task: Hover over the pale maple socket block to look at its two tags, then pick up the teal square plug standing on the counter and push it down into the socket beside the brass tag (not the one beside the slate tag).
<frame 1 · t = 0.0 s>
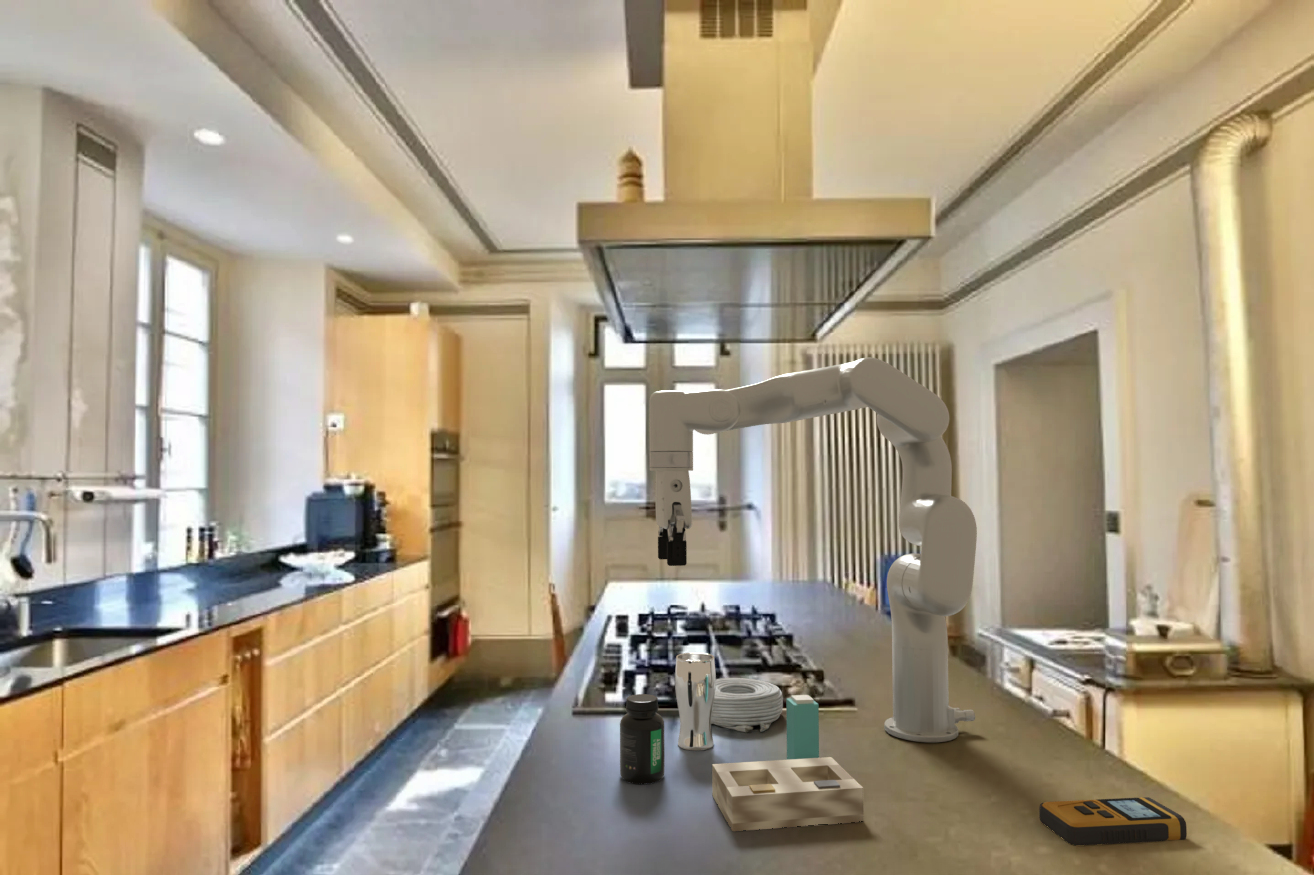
hand: (671, 562, 143), 31 cm above the countertop, tool pointing down, fingers open, 9 cm apart
socket block: (785, 808, 116), on the countertop
beer glass: (695, 746, 143), on the countertop
plug: (802, 764, 133), on the countertop
supplement bottle: (642, 778, 128), on the countertop
electronic device: (1110, 834, 109), on the countertop
cable: (736, 718, 159), on the countertop
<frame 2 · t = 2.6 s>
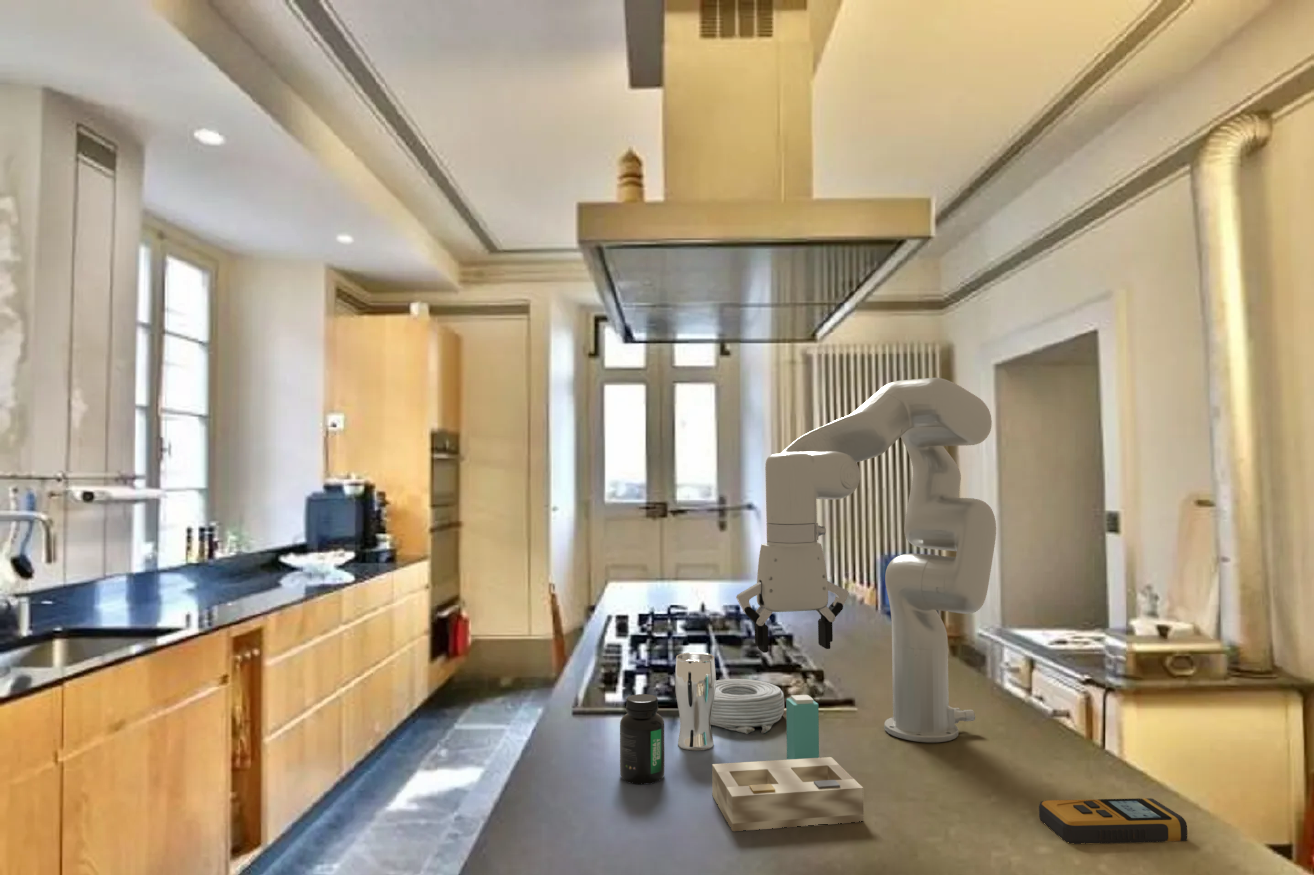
hand: (793, 648, 125), 20 cm above the countertop, tool pointing down, fingers open, 9 cm apart
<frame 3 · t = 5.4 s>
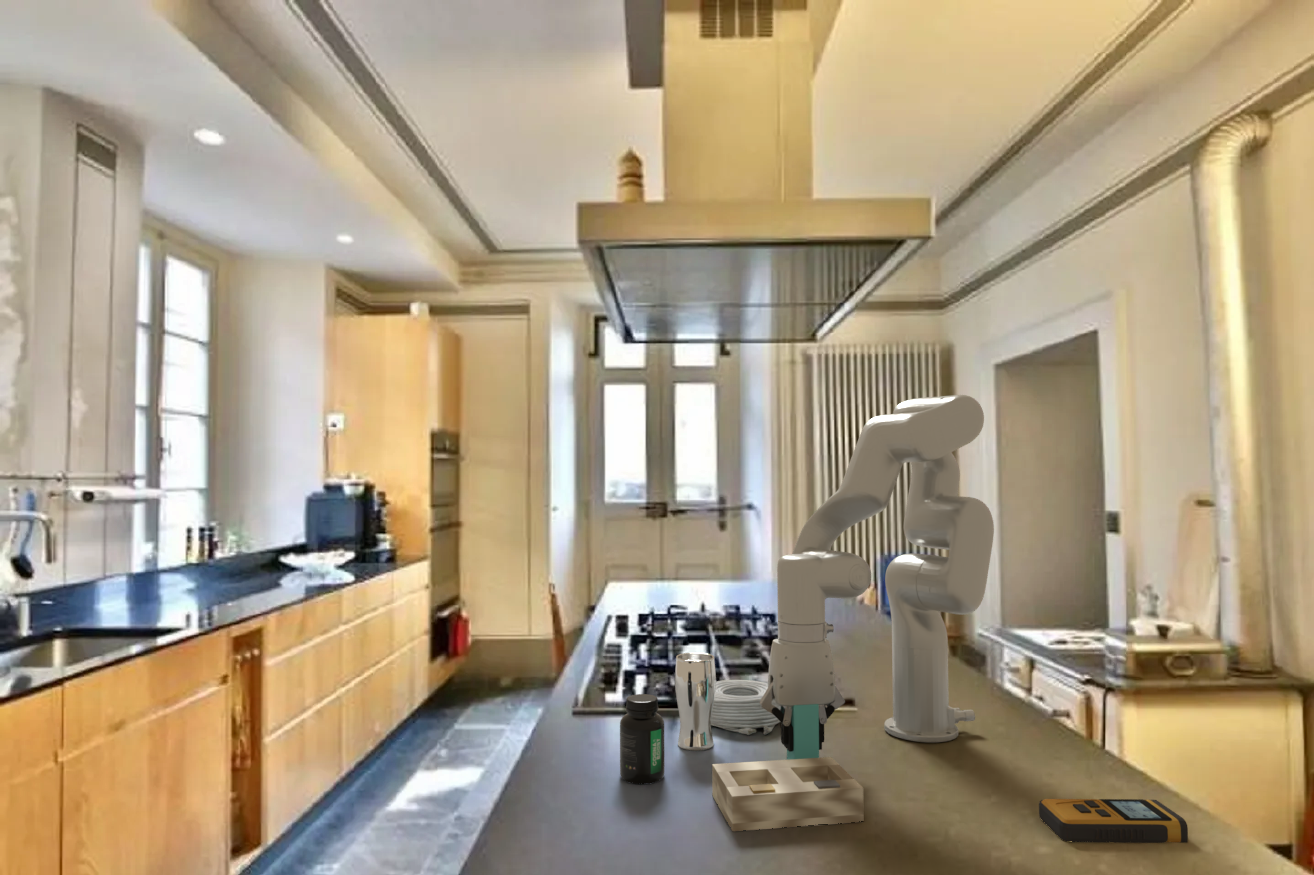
hand: (802, 746, 133), 3 cm above the countertop, tool pointing down, fingers closed on plug, 4 cm apart
plug: (802, 764, 133), on the countertop, touching gripper
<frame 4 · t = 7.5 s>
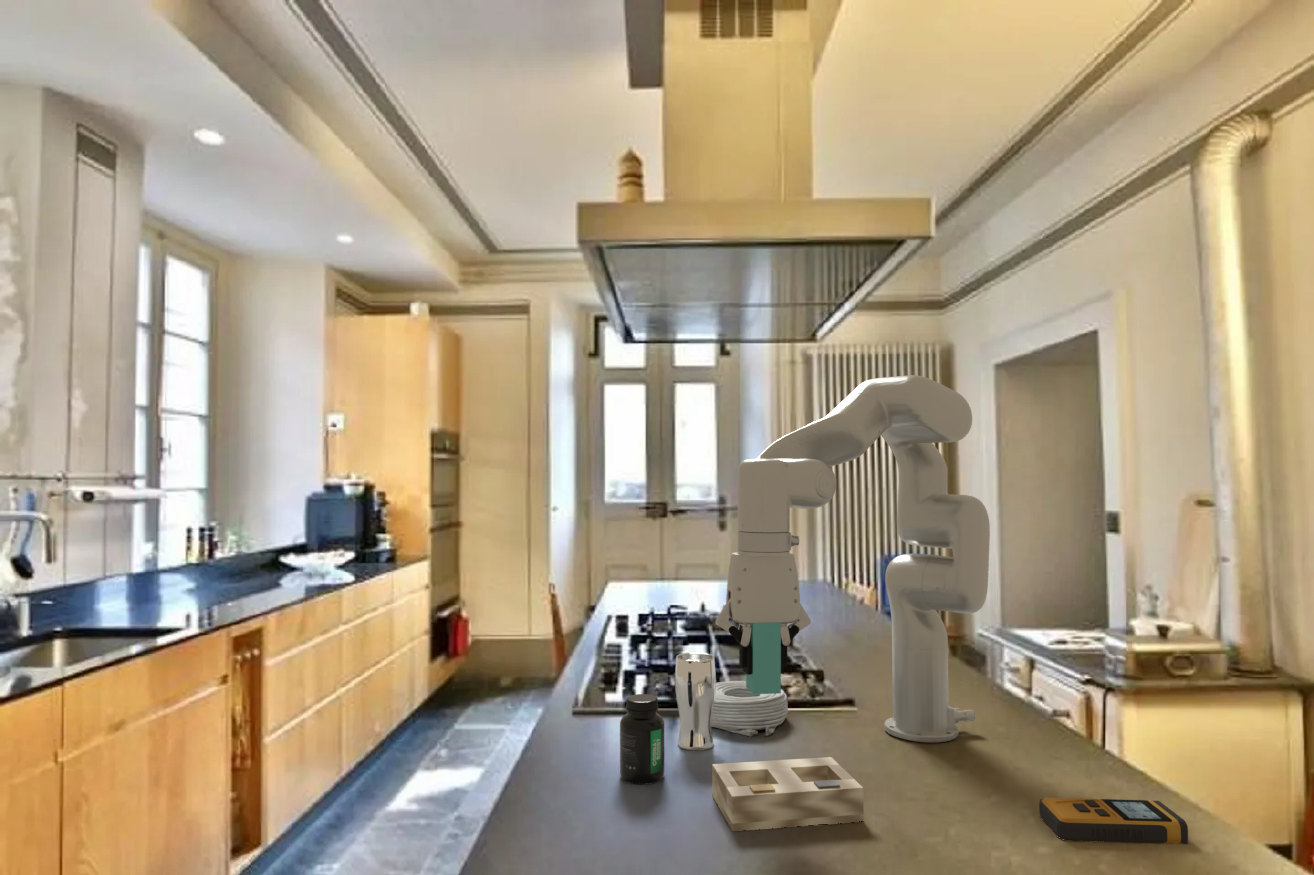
hand: (763, 670, 120), 18 cm above the countertop, tool pointing down, fingers closed on plug, 4 cm apart
plug: (763, 690, 120), point 15 cm above the countertop, touching gripper
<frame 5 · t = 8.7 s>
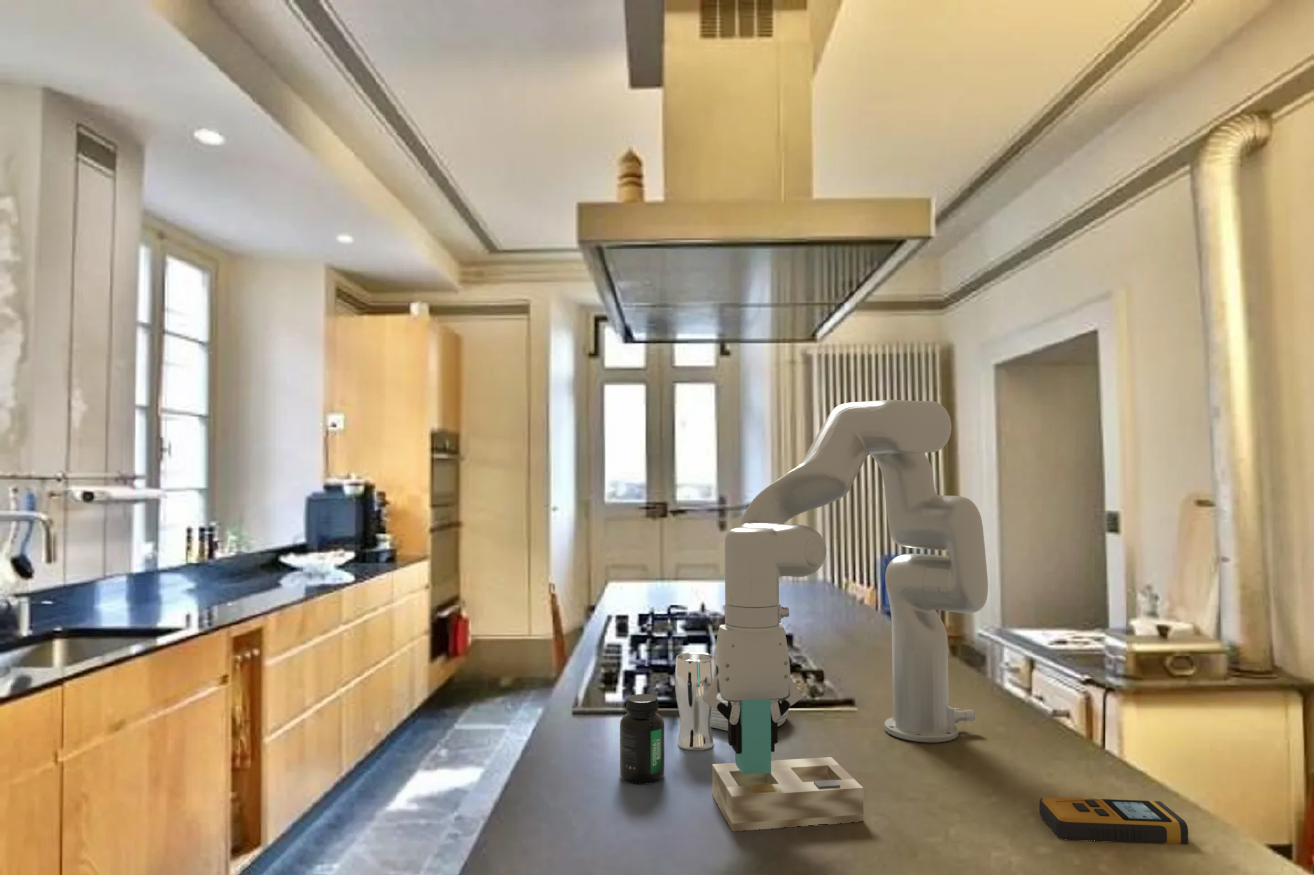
hand: (752, 748, 116), 9 cm above the countertop, tool pointing down, fingers closed on plug, 4 cm apart
plug: (753, 768, 115), point 6 cm above the countertop, touching gripper
when the fingers open (5 cm above the countertop, at t = 9.7 s): plug drops 1 cm, resting on socket block.
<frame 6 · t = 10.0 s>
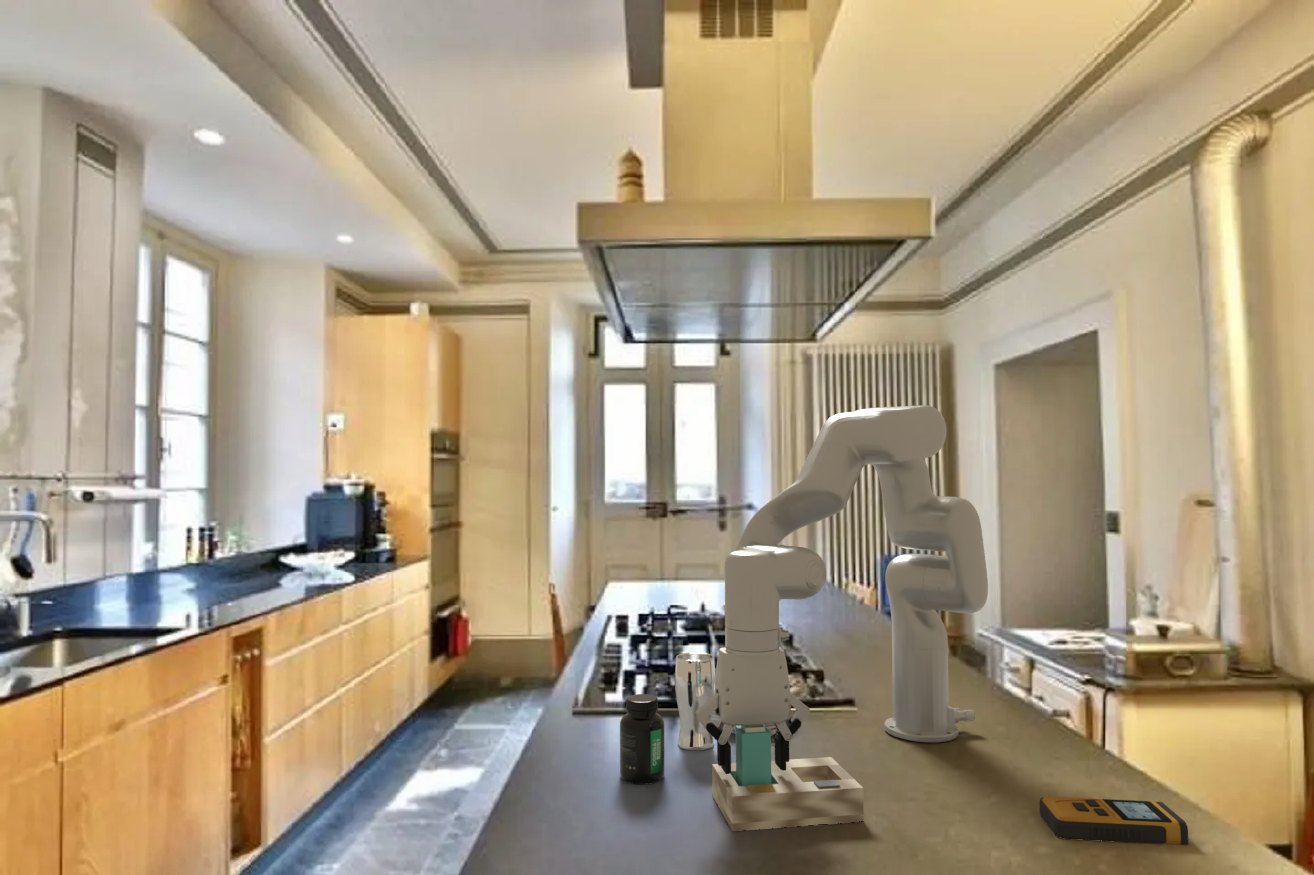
hand: (753, 767, 115), 6 cm above the countertop, tool pointing down, fingers open, 7 cm apart
plug: (753, 802, 115), point 1 cm above the countertop, touching socket block
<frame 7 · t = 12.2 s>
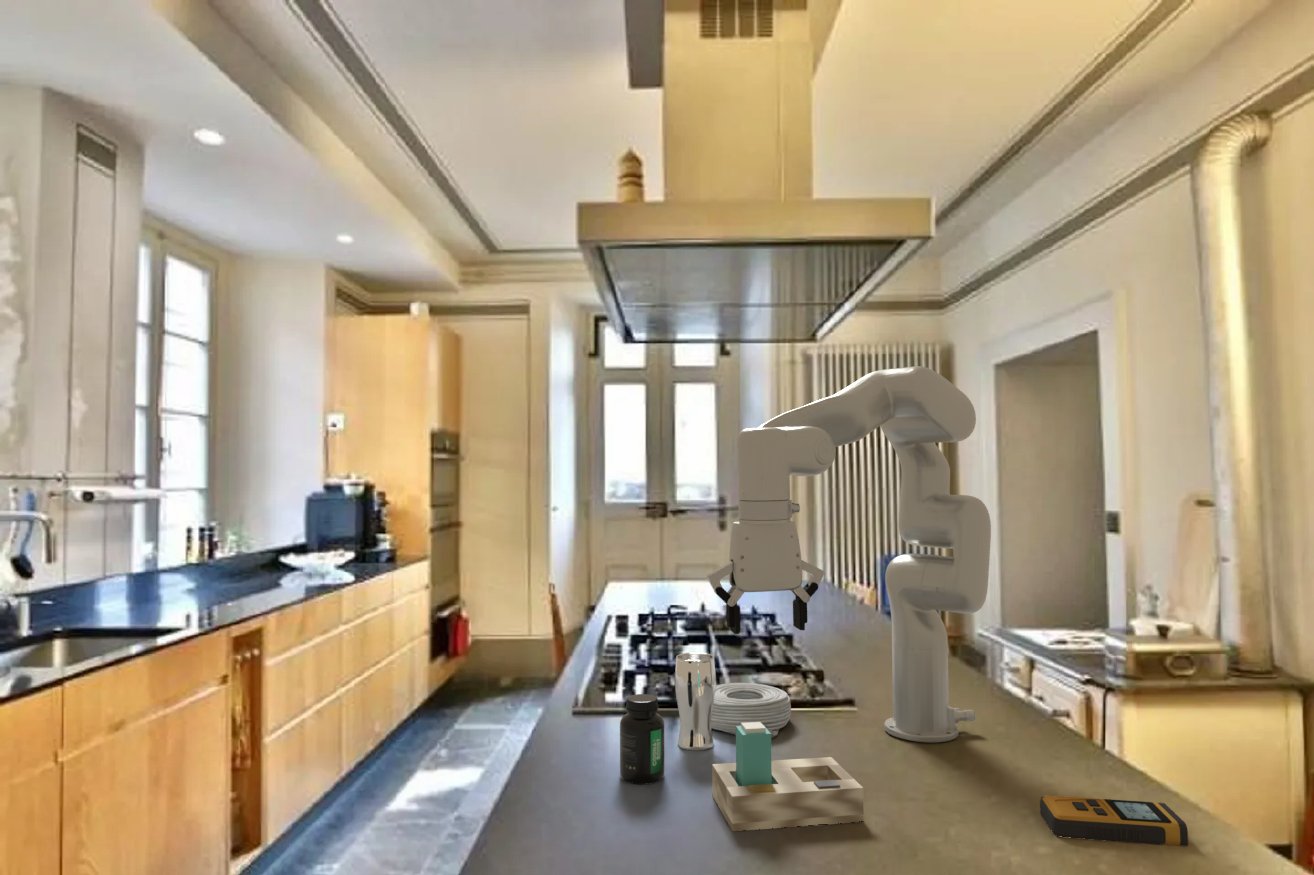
hand: (767, 630, 121), 24 cm above the countertop, tool pointing down, fingers open, 9 cm apart
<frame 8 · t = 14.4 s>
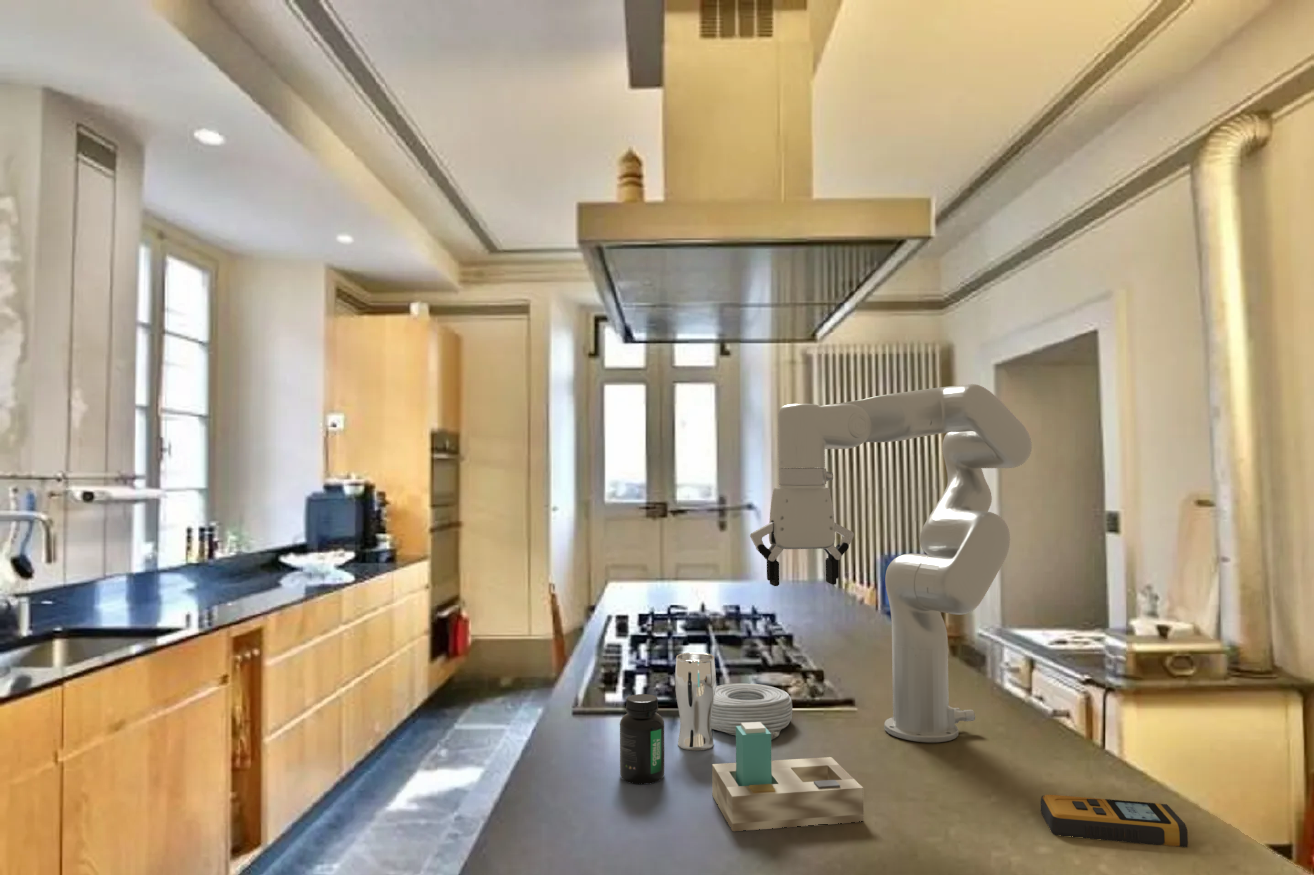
hand: (802, 584, 136), 28 cm above the countertop, tool pointing down, fingers open, 9 cm apart
at the end: plug 0.1 cm from the target spot on the socket block, point 1.0 cm above the socket block's base; plug tilted 0°; the gripper is holding nothing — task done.
